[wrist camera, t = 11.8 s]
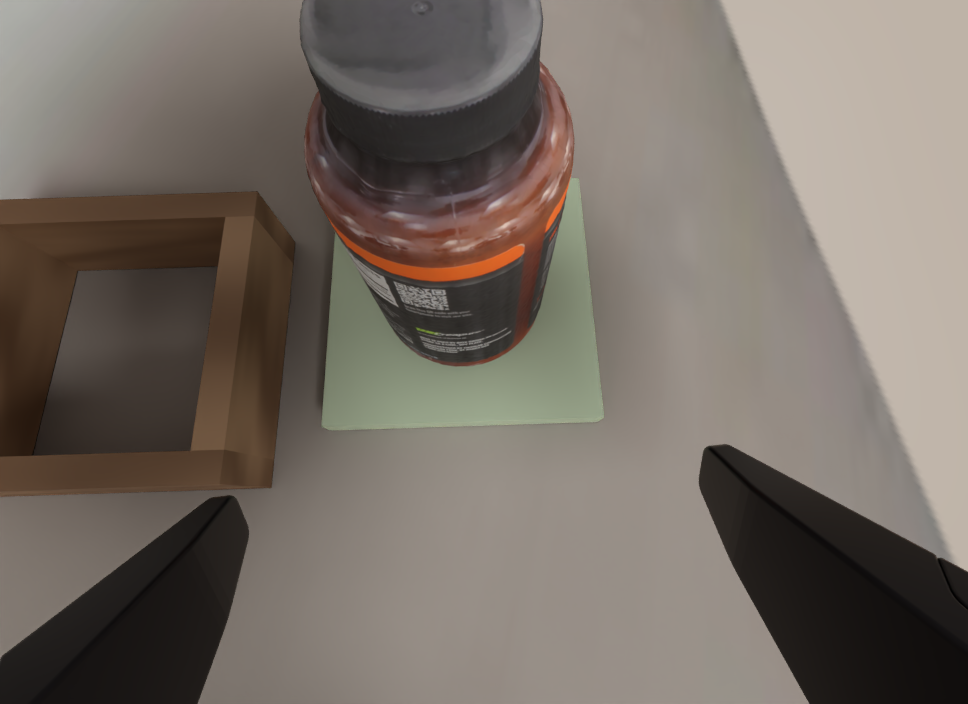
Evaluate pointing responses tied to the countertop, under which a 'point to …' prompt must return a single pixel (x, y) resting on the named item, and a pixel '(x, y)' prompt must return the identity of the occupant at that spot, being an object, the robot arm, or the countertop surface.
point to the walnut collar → (229, 349)
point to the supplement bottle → (440, 163)
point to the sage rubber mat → (467, 389)
